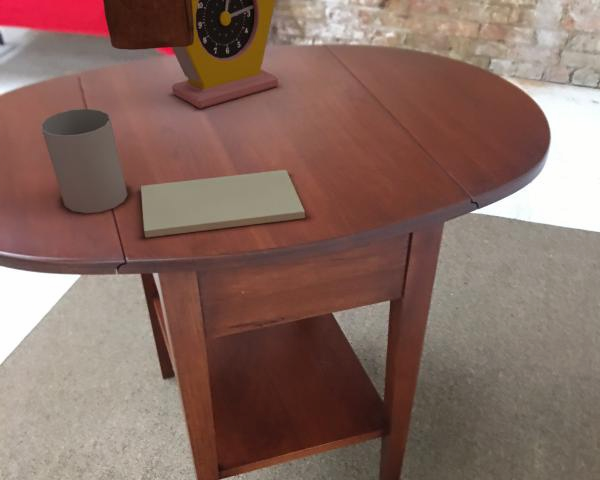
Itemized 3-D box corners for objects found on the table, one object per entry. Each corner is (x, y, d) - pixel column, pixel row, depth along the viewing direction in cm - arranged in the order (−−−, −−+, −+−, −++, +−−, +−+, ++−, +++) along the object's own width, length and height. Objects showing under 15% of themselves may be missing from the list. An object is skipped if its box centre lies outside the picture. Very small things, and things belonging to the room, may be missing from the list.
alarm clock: (186, 114, 105) (164, -42, 90) (158, 98, 110) (133, -52, 95) (291, 83, 114) (287, -63, 99) (261, 70, 119) (253, -71, 104)
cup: (95, 177, 89) (76, 104, 82) (139, 191, 86) (124, 116, 79) (50, 203, 84) (25, 127, 77) (96, 218, 81) (75, 141, 74)
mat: (145, 237, 77) (143, 230, 77) (142, 192, 86) (140, 185, 85) (304, 218, 80) (304, 211, 79) (286, 176, 88) (286, 169, 88)
